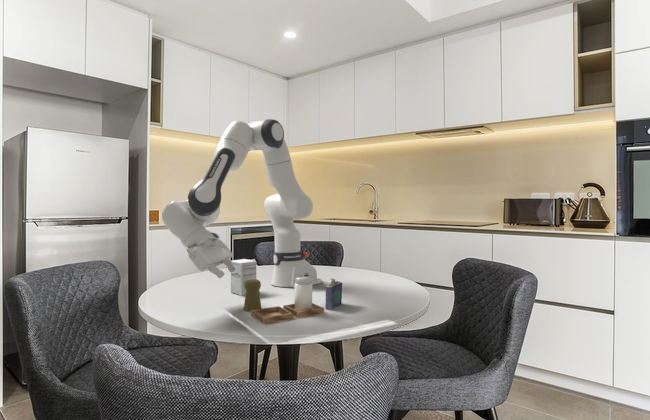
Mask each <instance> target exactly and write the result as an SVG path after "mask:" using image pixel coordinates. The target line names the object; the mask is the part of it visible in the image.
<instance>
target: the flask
mask: <svg viewBox="0 0 650 420" xmlns="http://www.w3.org/2000/svg"><path fill="white" fill-rule="evenodd" d="M342 293H343V282H342V281H339V280H336V279H335V278H333V277H331V280H330V283H329V284H327V285H326V286H325V304H324V305H325V307H324V310H327V311H331V310H333V309H335V308H336V307H339V306H341V305H342V304H343V301H342V300H343V298H342V297H343V296H342V295H343V294H342Z"/></svg>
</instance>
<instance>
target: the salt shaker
mask: <svg viewBox="0 0 650 420" xmlns="http://www.w3.org/2000/svg"><path fill="white" fill-rule="evenodd" d="M312 303H313V285H312V282H311V277H305V276H303V277H296V282H295V288H294V304H295V310H296V311H298V312H300V311H305V310H311V309H312Z"/></svg>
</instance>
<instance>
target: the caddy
mask: <svg viewBox="0 0 650 420" xmlns="http://www.w3.org/2000/svg"><path fill="white" fill-rule="evenodd" d="M282 306H283V307H281V306H280V305H277V306H271V307H265V308H264V307H263V308H262V309H257V310H251V312H250V316H251V317H253V318H254V319H256V320H257V321H259V322H260V323H262V324H263V325H269V324H270V325H271V324H275V323H276V324H277V323H281V322H289V321H292V320H297V319H298V320H299V319H303V318H309V317H314V316H320V315H325V314H326V313H325V307H323V306H320V305H318V304H315V303H314V302H312V309H311V310H305V311H300V312H298V311H296V310H295V303H289V304H283V305H282Z"/></svg>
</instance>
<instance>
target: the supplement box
mask: <svg viewBox="0 0 650 420" xmlns="http://www.w3.org/2000/svg"><path fill="white" fill-rule="evenodd" d="M231 261H232V264H233V266H234V267H235V268H236V270H235V271H234V272H232V273H231V272H230V293H233V294H236V295H239V296H246V289H245V287H244V284H245V282H246V281H247V280H250V279H257V261H256V260H252V259H247V258H242V259H234V260H231Z"/></svg>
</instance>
